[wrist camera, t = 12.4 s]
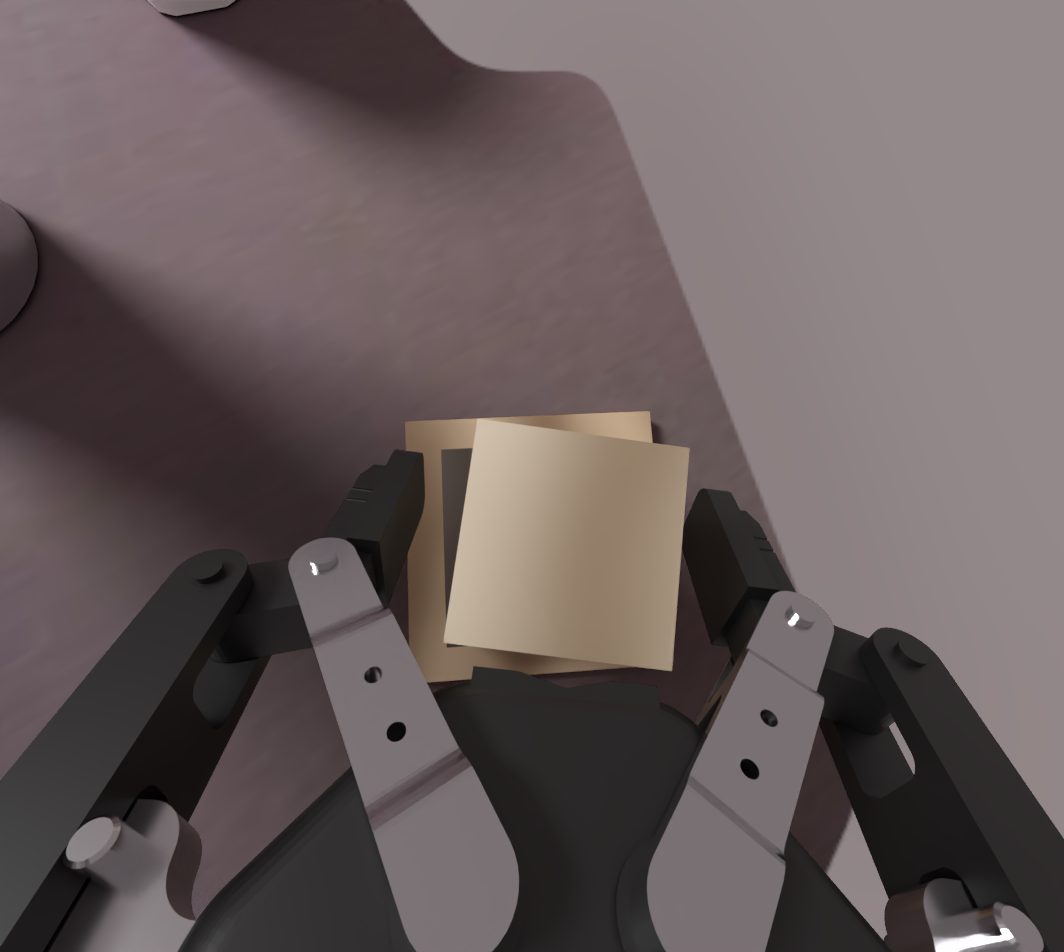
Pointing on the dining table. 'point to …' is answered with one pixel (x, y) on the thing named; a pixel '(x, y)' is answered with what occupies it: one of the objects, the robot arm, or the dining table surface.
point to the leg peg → (570, 546)
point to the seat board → (440, 532)
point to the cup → (187, 5)
